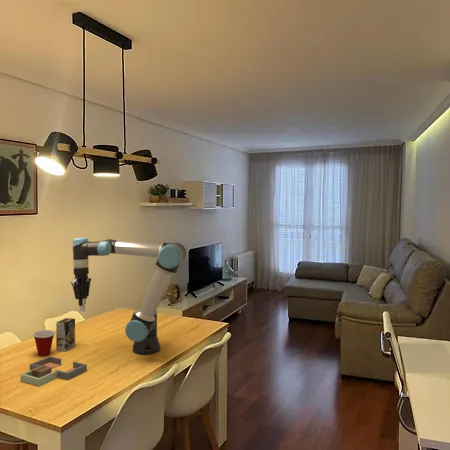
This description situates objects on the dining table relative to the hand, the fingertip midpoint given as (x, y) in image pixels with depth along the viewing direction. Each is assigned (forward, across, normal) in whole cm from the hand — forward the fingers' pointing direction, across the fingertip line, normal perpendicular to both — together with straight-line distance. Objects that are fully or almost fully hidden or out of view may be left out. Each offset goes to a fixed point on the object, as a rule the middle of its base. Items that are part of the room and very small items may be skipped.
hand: (82, 311), depth 210 cm
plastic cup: (+24, +6, -22) cm, 33 cm away
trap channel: (+24, +24, +1) cm, 34 cm away
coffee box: (+24, -6, -18) cm, 31 cm away
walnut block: (+25, +28, 0) cm, 38 cm away
